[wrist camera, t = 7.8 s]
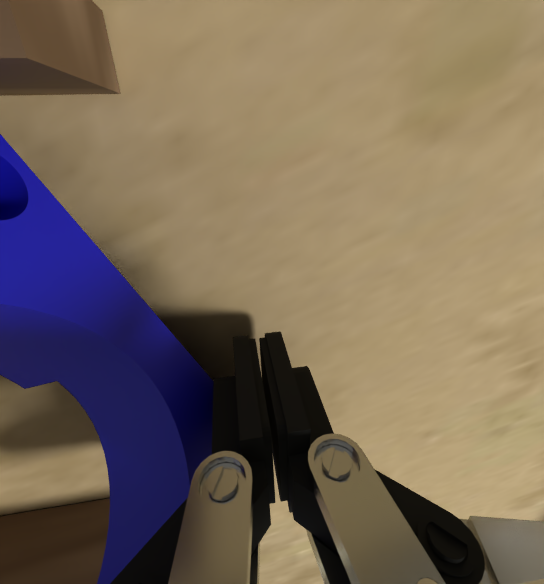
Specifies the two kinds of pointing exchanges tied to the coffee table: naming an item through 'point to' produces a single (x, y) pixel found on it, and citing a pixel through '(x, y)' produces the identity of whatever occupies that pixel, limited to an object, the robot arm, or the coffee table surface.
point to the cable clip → (99, 359)
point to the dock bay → (54, 81)
